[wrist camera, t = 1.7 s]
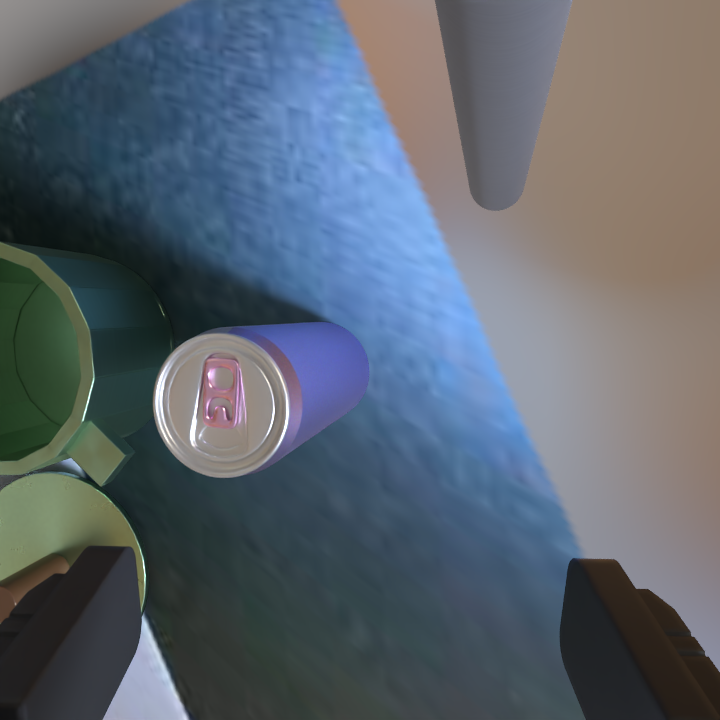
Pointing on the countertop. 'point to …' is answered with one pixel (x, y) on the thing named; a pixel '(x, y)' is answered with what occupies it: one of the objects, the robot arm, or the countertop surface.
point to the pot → (75, 359)
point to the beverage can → (255, 393)
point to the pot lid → (58, 531)
